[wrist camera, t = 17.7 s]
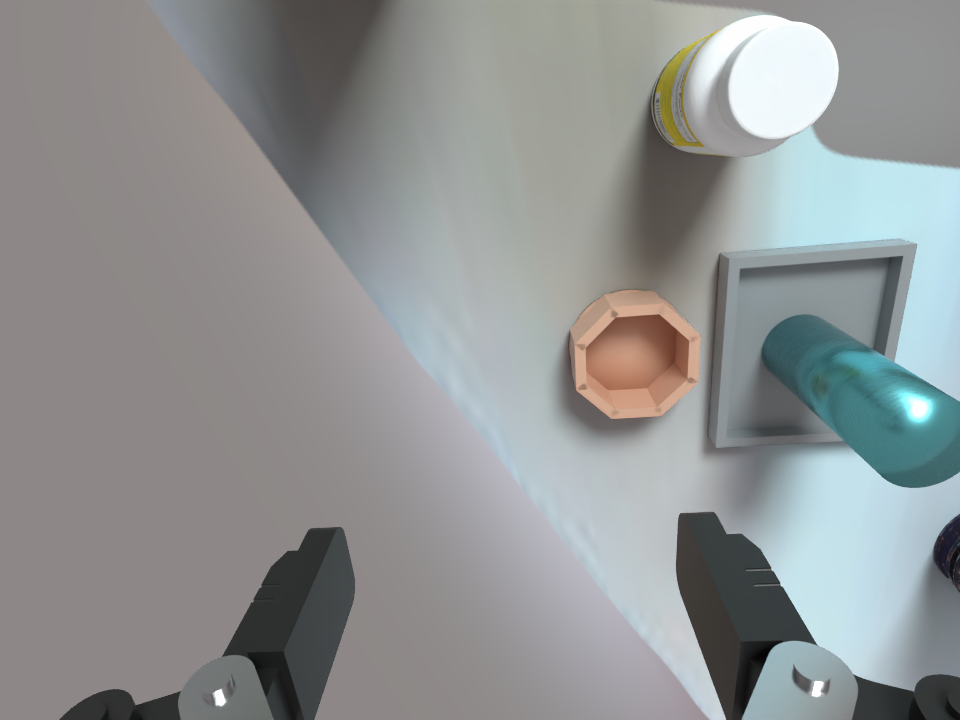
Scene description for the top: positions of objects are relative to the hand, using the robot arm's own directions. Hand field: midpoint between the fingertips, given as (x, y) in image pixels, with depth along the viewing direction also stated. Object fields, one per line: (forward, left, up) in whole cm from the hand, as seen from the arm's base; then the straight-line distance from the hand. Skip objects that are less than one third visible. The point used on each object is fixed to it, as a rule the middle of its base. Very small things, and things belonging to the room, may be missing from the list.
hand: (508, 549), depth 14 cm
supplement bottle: (-10, +14, -33) cm, 37 cm away
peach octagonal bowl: (+8, +9, -33) cm, 35 cm away
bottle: (+9, +22, -32) cm, 40 cm away
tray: (+9, +23, -33) cm, 41 cm away
